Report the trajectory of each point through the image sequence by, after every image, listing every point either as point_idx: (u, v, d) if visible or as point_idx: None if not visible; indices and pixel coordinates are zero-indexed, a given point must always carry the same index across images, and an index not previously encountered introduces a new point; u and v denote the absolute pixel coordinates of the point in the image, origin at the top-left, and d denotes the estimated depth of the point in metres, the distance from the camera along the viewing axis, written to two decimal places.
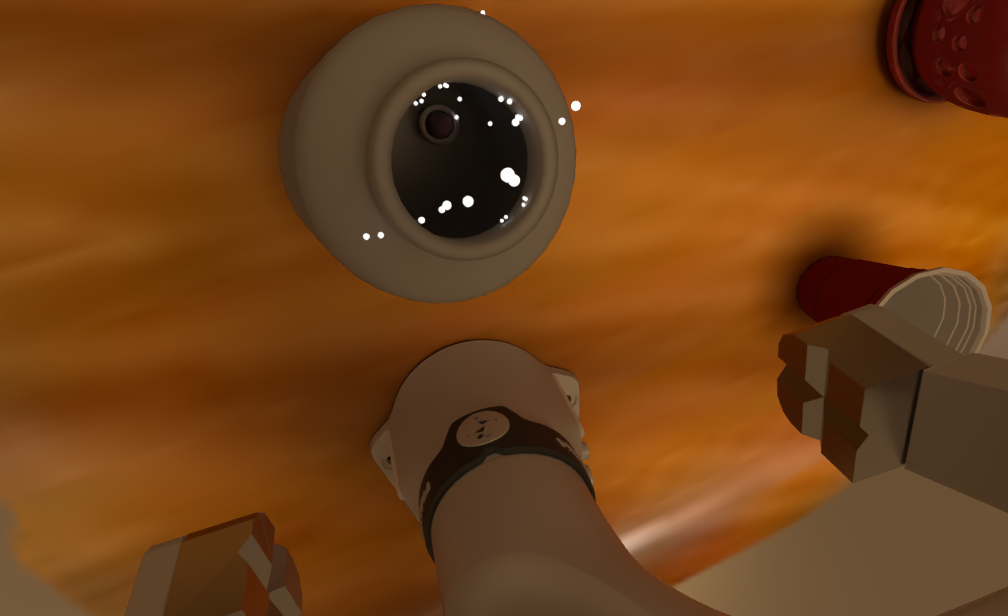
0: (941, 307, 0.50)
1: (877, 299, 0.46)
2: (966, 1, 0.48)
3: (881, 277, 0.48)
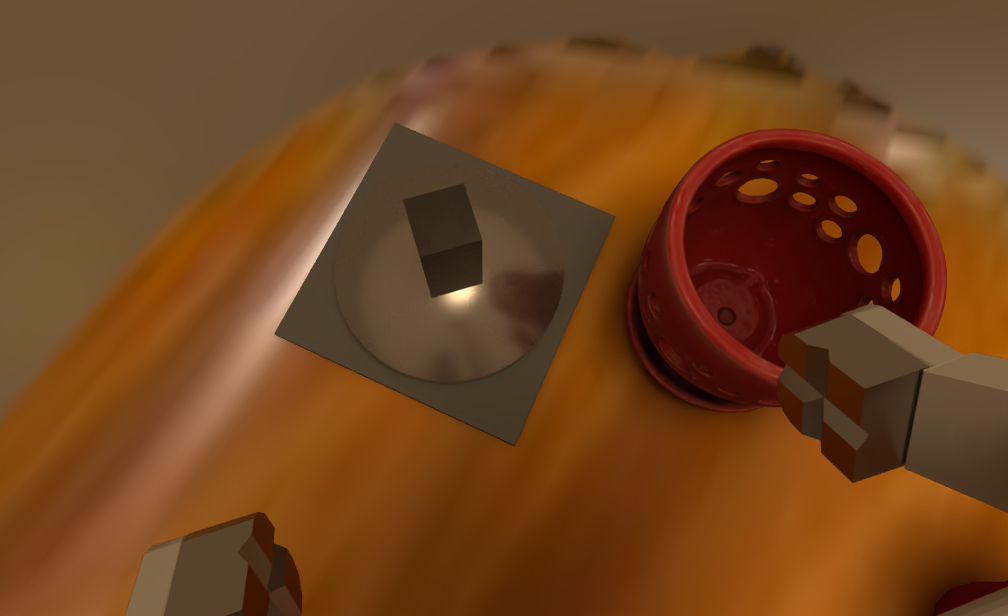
0: None
1: None
2: (702, 292, 0.38)
3: None
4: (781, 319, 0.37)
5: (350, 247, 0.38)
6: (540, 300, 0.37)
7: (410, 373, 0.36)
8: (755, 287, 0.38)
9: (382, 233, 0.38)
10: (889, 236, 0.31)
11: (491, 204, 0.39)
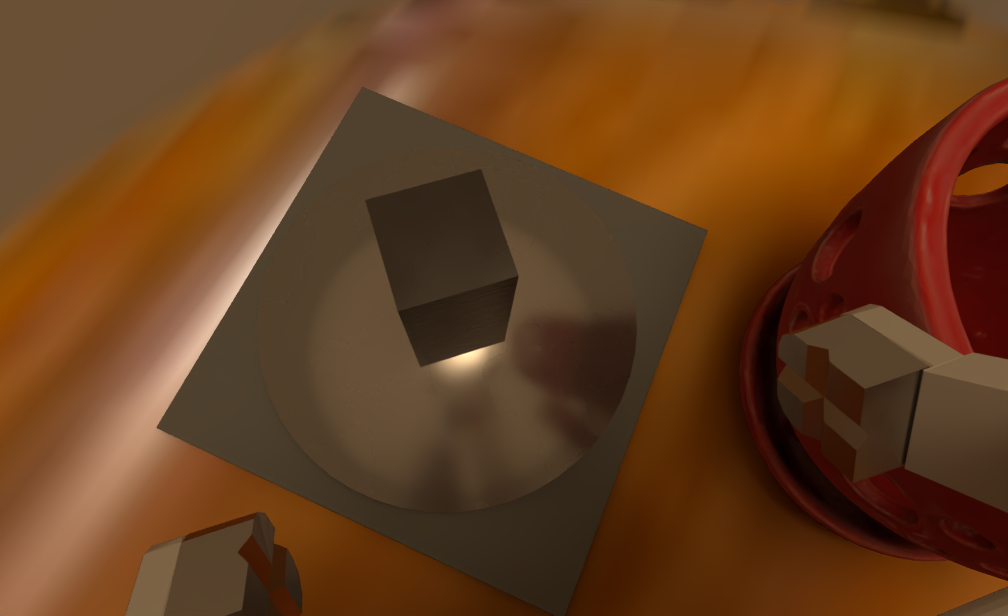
0: None
1: None
2: None
3: None
4: None
5: (285, 282, 0.23)
6: (600, 369, 0.23)
7: (385, 500, 0.21)
8: None
9: (339, 259, 0.23)
10: None
11: (516, 212, 0.24)
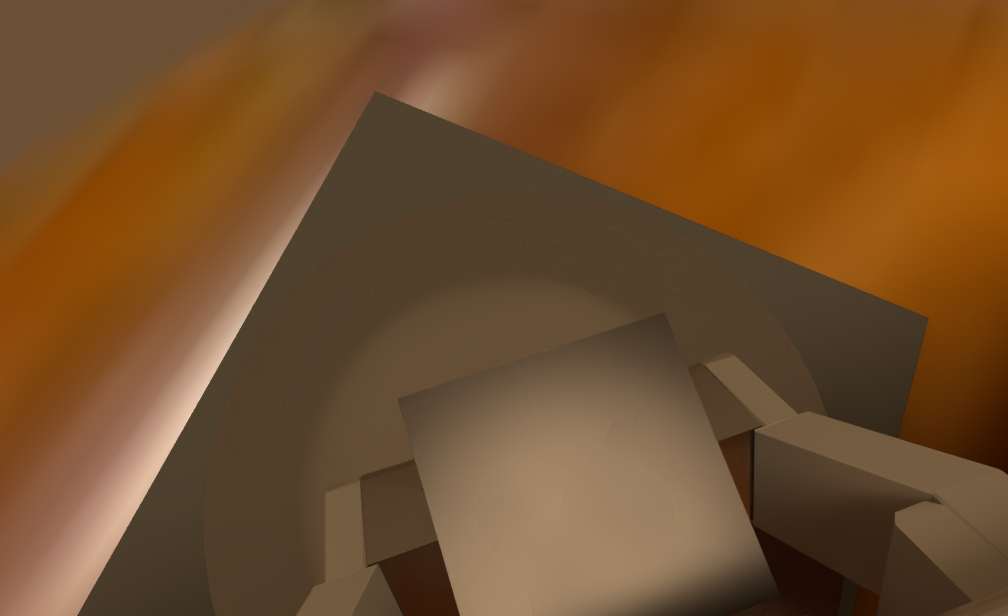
0: None
1: None
2: None
3: None
4: None
5: (252, 432, 0.14)
6: (791, 582, 0.13)
7: None
8: None
9: (342, 389, 0.14)
10: None
11: (632, 300, 0.15)
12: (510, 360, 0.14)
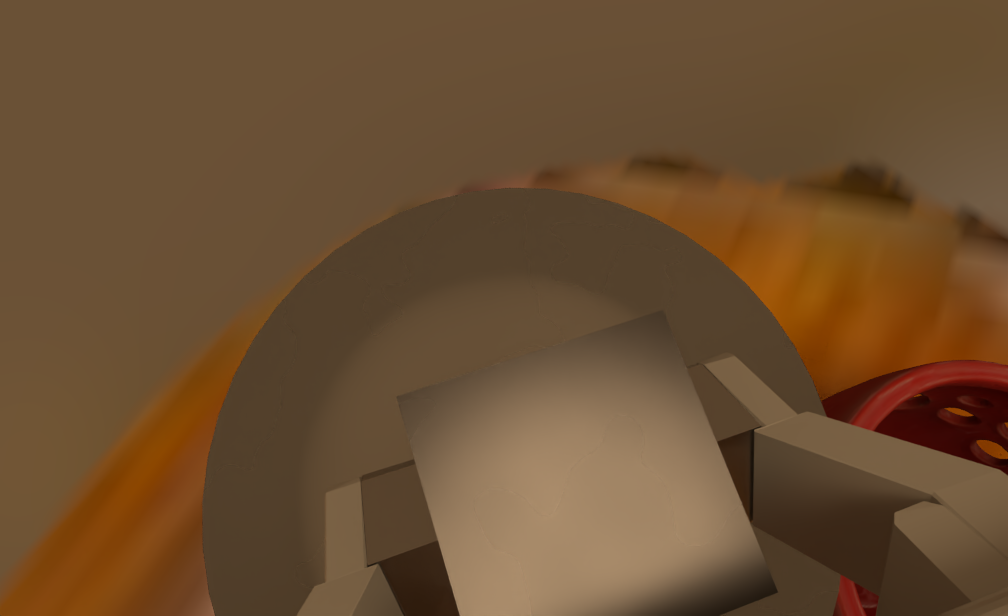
0: None
1: None
2: None
3: None
4: None
5: (251, 429, 0.14)
6: (788, 578, 0.13)
7: None
8: None
9: (340, 386, 0.14)
10: None
11: (630, 297, 0.15)
12: (507, 357, 0.14)
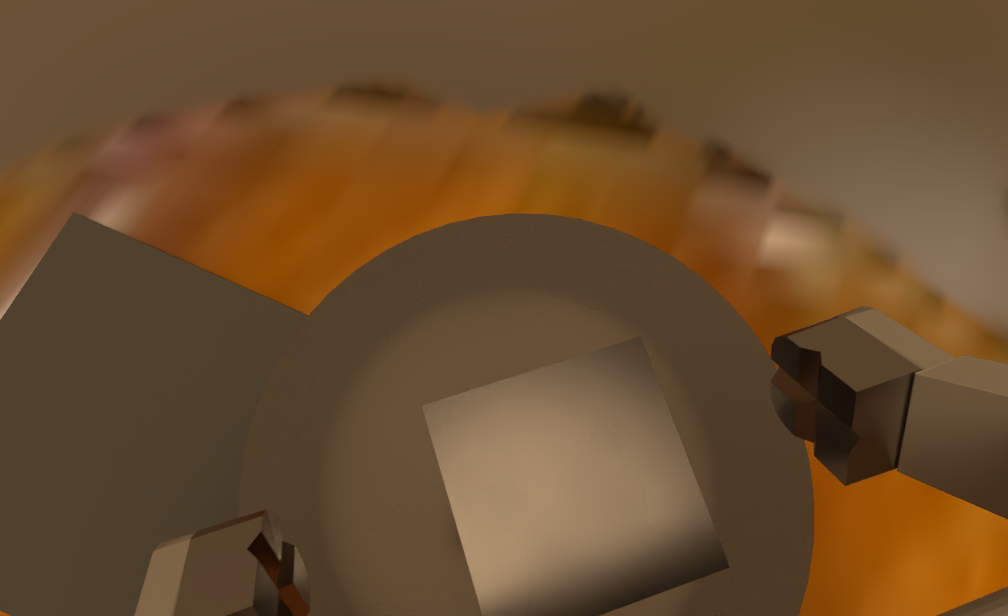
0: None
1: None
2: None
3: None
4: None
5: (281, 430, 0.15)
6: (762, 569, 0.15)
7: None
8: None
9: (361, 393, 0.16)
10: None
11: (624, 314, 0.16)
12: (512, 367, 0.16)
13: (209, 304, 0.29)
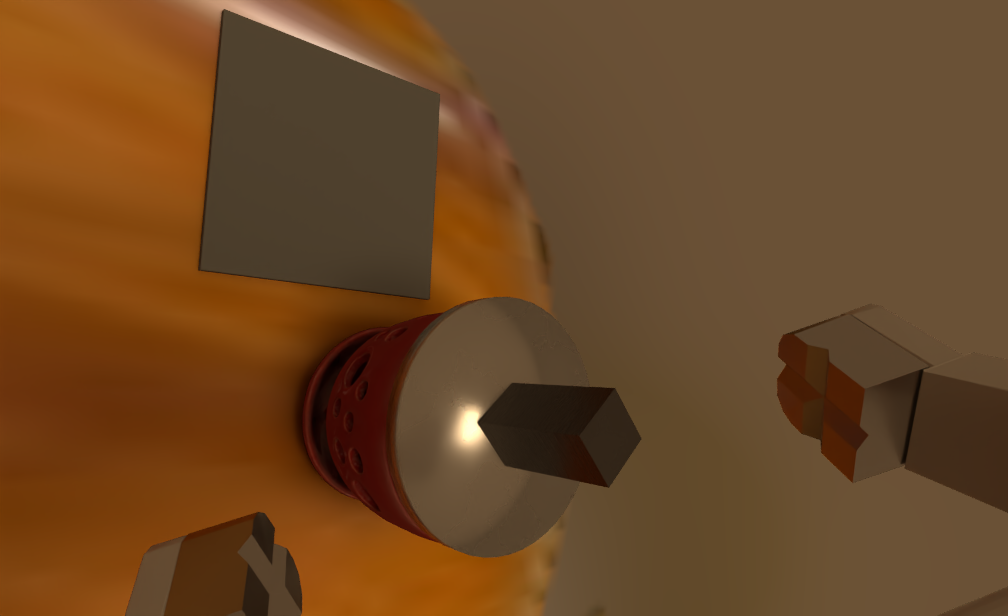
0: None
1: None
2: None
3: None
4: None
5: (494, 311, 0.34)
6: (508, 534, 0.34)
7: (399, 442, 0.30)
8: None
9: (515, 338, 0.35)
10: None
11: None
12: None
13: (419, 193, 0.46)
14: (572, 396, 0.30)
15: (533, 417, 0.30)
